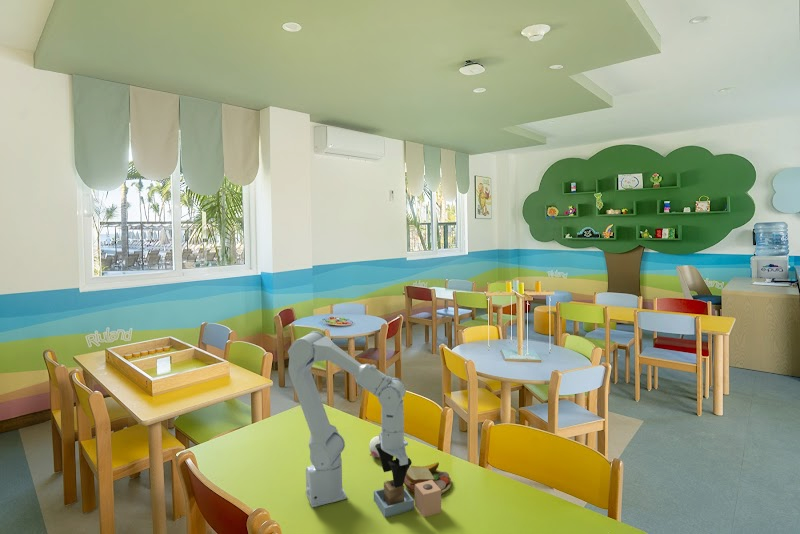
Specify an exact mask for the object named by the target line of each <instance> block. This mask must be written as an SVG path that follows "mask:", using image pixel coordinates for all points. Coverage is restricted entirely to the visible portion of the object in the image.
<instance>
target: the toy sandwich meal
mask: <svg viewBox="0 0 800 534" xmlns="http://www.w3.org/2000/svg"><path fill="white" fill-rule="evenodd" d="M439 465H440V463H439V462H438V461H437V462H434V463H432V464H429V465H424V466H420V465H419V466H416V465H415V466H414V465H410V467H409V469H408V470H407V473H406V476H405V480H404V484H403V486H404V487H406V489H407V490H408V491H410V492H411V493H415V484H418V483H421V482H425V481H429V480H433V481H434V483H435V484H436V485H437V486H438V487H439V488H440V489H441V495H443V494H444V493H446V492H447V491H448V490H449V489H450V488H451V487H452V479H451V477H450V474H449V473H448V472H447V471H441V470H438V468H439Z"/></svg>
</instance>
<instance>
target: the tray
mask: <svg viewBox="0 0 800 534" xmlns="http://www.w3.org/2000/svg"><path fill="white" fill-rule="evenodd" d="M373 502H375V505H376V506H377V508H378V509H379V511H380V512H381V514H382V516H383V518H386V519H387V518H389V517H392V516H396V515H399V514H402V513H406V512H411V511H413V510H415V499H414V498H413V497H412V495H410V493H409V492H408V491H407V488H405V487H404V502H401V503H397V504H394V505H390V506H387V504H386V502H385V501H384V487H383V488H381V489H377V490H373Z"/></svg>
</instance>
